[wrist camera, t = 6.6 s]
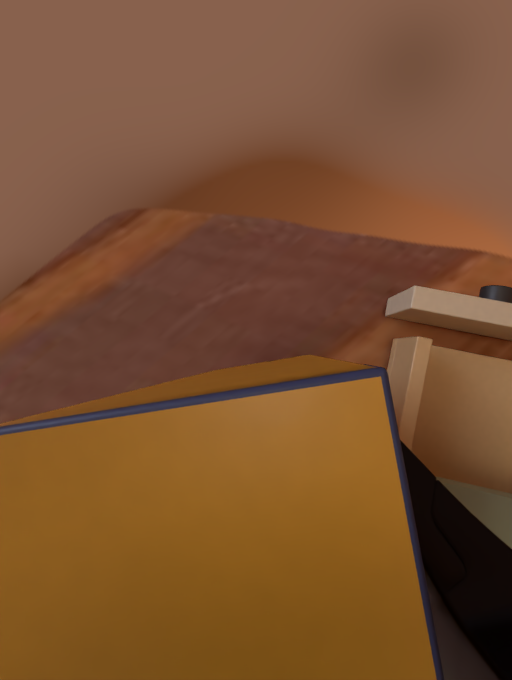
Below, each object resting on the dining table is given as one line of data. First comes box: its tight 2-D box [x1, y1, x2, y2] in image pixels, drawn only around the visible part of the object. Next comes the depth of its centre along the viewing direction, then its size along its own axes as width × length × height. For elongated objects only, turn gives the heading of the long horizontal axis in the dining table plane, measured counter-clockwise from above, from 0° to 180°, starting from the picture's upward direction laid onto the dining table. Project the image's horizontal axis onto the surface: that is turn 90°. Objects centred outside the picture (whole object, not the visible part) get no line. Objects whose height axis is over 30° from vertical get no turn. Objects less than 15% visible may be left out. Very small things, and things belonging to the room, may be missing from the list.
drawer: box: [385, 285, 512, 494], centre depth 19 cm, size 13×10×4 cm
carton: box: [0, 355, 445, 680], centre depth 10 cm, size 5×5×13 cm
